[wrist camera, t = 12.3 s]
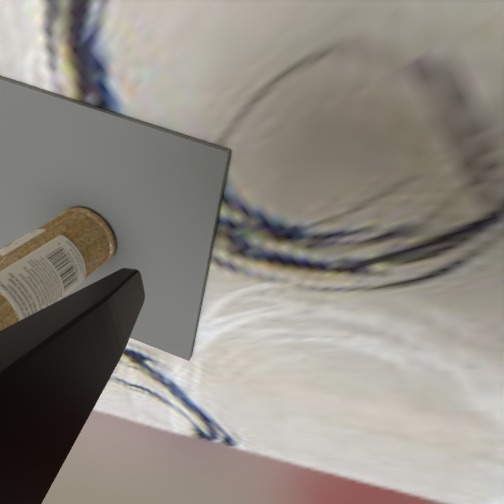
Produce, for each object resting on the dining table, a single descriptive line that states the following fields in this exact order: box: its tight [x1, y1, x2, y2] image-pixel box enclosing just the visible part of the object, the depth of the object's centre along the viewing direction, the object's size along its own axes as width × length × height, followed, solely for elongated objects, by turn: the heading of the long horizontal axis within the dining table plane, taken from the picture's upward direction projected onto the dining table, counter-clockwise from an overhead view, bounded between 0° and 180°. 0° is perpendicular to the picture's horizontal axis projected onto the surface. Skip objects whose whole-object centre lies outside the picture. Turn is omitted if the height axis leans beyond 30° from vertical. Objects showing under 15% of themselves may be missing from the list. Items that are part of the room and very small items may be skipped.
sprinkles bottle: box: [0, 207, 116, 330], centre depth 20 cm, size 5×5×14 cm
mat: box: [0, 76, 231, 361], centre depth 26 cm, size 18×18×1 cm
